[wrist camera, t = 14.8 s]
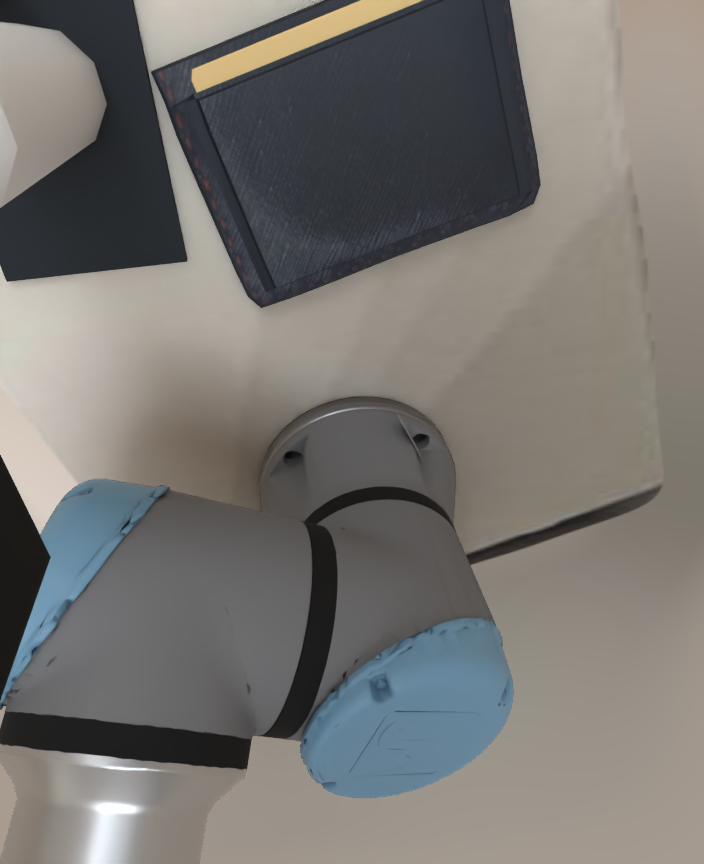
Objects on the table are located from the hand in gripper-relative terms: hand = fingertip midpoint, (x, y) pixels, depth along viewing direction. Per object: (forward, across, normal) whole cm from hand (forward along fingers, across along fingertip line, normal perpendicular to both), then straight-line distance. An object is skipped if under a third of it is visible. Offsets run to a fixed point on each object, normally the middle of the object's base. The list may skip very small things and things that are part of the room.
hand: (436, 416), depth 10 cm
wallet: (+34, +4, -2) cm, 34 cm away
